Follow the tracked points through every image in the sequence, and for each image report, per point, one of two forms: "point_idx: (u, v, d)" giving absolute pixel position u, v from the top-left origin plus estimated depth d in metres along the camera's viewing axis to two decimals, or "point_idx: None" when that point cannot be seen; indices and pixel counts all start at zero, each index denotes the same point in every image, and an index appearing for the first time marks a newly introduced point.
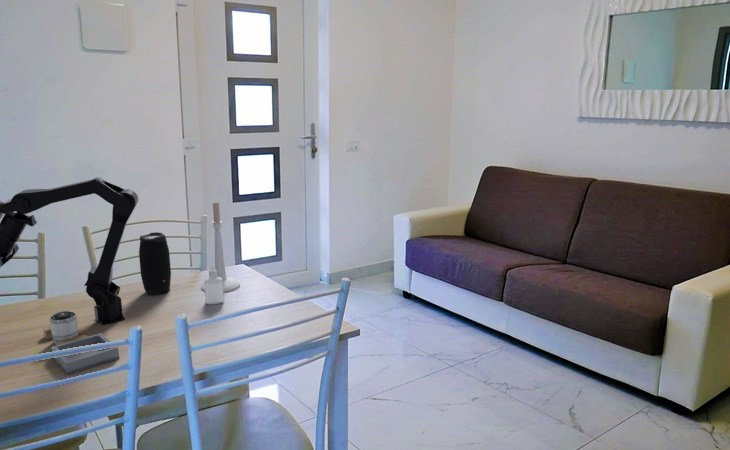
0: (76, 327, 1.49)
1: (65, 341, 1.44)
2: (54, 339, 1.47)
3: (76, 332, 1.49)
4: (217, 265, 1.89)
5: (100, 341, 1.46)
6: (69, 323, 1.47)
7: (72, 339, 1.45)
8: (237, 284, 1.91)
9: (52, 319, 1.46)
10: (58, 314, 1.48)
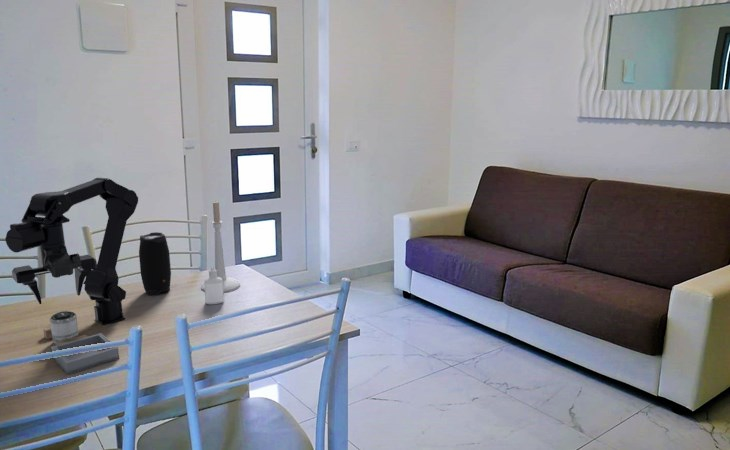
0: (76, 327, 1.49)
1: (65, 341, 1.44)
2: (54, 339, 1.47)
3: (76, 332, 1.49)
4: (217, 265, 1.89)
5: (100, 341, 1.46)
6: (69, 323, 1.47)
7: (72, 339, 1.45)
8: (237, 284, 1.91)
9: (52, 319, 1.46)
10: (58, 314, 1.48)
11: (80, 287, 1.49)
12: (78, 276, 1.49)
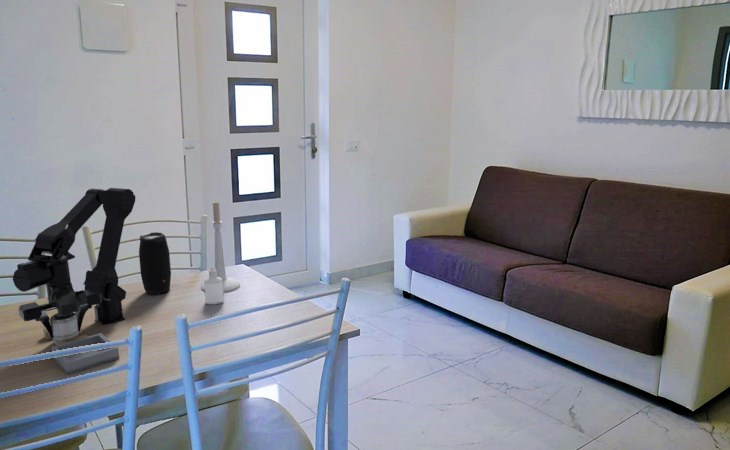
0: (76, 327, 1.49)
1: (65, 341, 1.44)
2: (54, 339, 1.47)
3: (76, 332, 1.49)
4: (217, 265, 1.89)
5: (100, 341, 1.46)
6: (69, 323, 1.47)
7: (72, 339, 1.45)
8: (237, 284, 1.91)
9: (52, 319, 1.46)
10: (58, 314, 1.48)
11: (80, 323, 1.51)
12: (78, 312, 1.50)
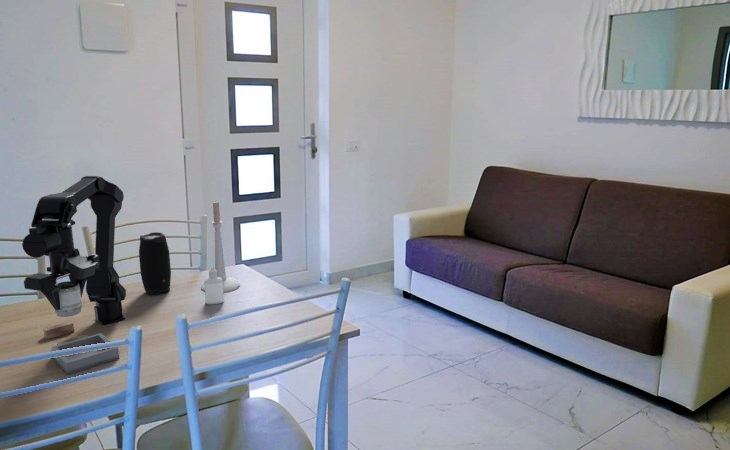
0: (80, 296, 1.43)
1: (65, 341, 1.44)
2: (61, 310, 1.39)
3: (81, 301, 1.43)
4: (217, 265, 1.89)
5: (100, 341, 1.46)
6: (77, 291, 1.41)
7: (72, 339, 1.45)
8: (237, 284, 1.91)
9: None
10: (60, 284, 1.40)
11: (81, 292, 1.45)
12: (79, 281, 1.44)
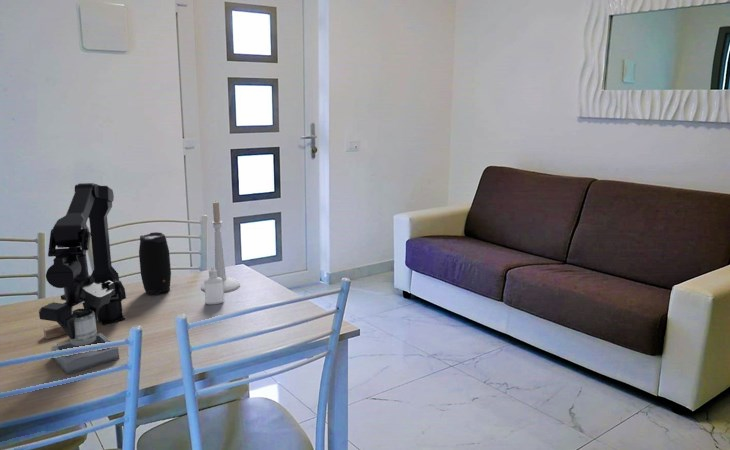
0: None
1: (65, 341, 1.44)
2: (76, 339, 1.36)
3: None
4: (217, 265, 1.89)
5: (100, 341, 1.46)
6: (92, 319, 1.38)
7: None
8: (237, 284, 1.91)
9: None
10: (75, 312, 1.37)
11: (96, 319, 1.42)
12: (93, 307, 1.41)
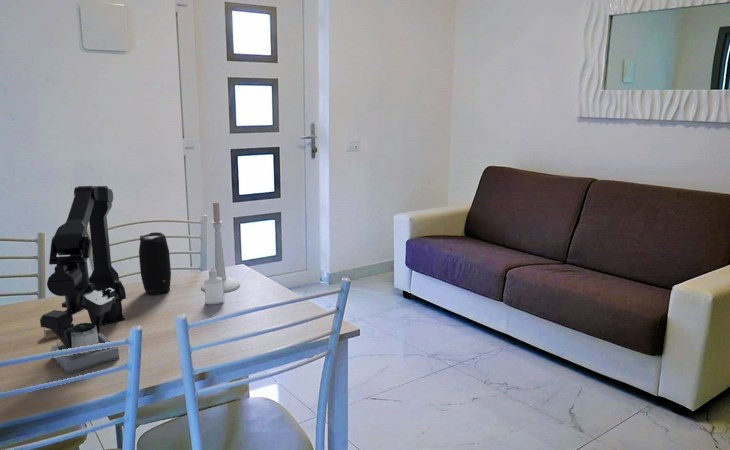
0: (97, 337, 1.41)
1: None
2: (79, 353, 1.37)
3: None
4: (217, 265, 1.89)
5: (100, 341, 1.46)
6: (94, 333, 1.39)
7: None
8: (237, 284, 1.91)
9: (76, 332, 1.36)
10: (77, 327, 1.38)
11: (100, 324, 1.43)
12: None
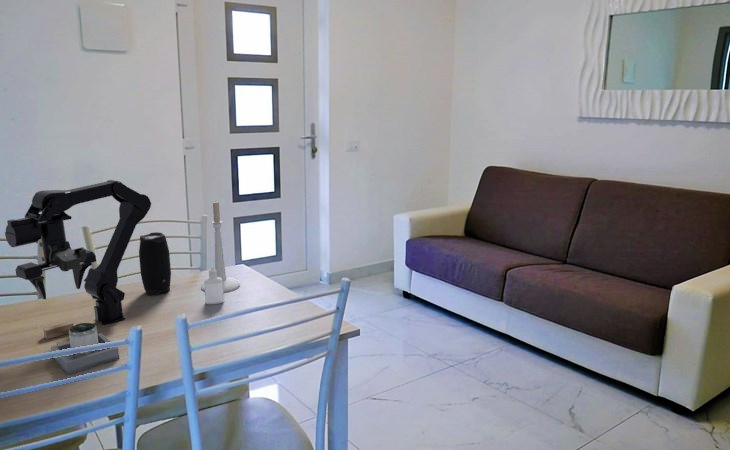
0: None
1: (65, 341, 1.44)
2: (79, 353, 1.37)
3: None
4: (217, 265, 1.89)
5: (100, 341, 1.46)
6: (94, 333, 1.39)
7: None
8: (237, 284, 1.91)
9: (76, 332, 1.36)
10: (77, 327, 1.38)
11: (80, 281, 1.54)
12: (78, 270, 1.54)
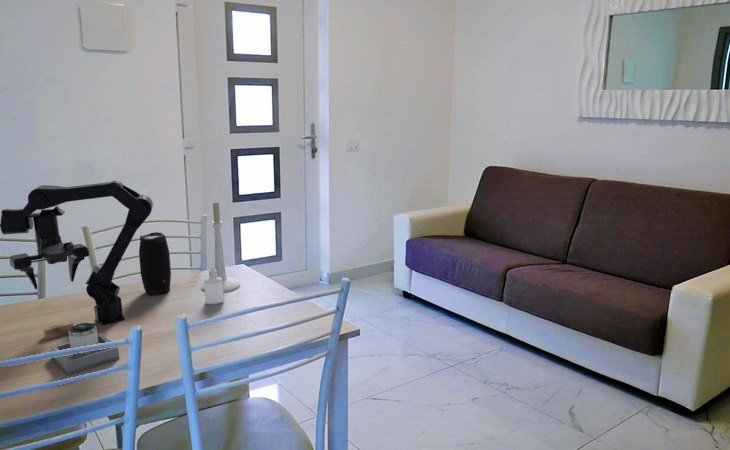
0: None
1: (65, 341, 1.44)
2: (79, 354, 1.37)
3: None
4: (217, 265, 1.89)
5: (100, 341, 1.46)
6: (94, 333, 1.39)
7: None
8: (237, 284, 1.91)
9: (76, 332, 1.36)
10: (77, 327, 1.38)
11: (73, 274, 1.60)
12: (71, 263, 1.59)
